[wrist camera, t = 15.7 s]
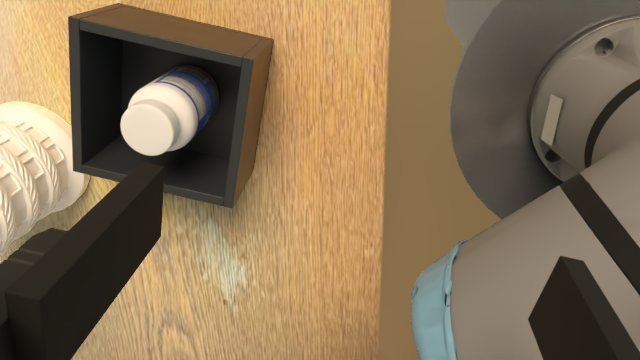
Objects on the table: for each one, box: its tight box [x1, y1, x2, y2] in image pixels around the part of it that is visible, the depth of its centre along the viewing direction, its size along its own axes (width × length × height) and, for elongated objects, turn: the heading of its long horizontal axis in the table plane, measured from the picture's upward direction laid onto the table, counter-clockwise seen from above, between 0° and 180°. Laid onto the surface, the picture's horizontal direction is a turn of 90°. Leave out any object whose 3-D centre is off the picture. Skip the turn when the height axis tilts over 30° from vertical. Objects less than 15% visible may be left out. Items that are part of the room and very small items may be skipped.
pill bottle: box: [120, 65, 219, 156], centre depth 40 cm, size 5×5×10 cm
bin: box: [68, 3, 274, 208], centre depth 42 cm, size 14×13×8 cm
